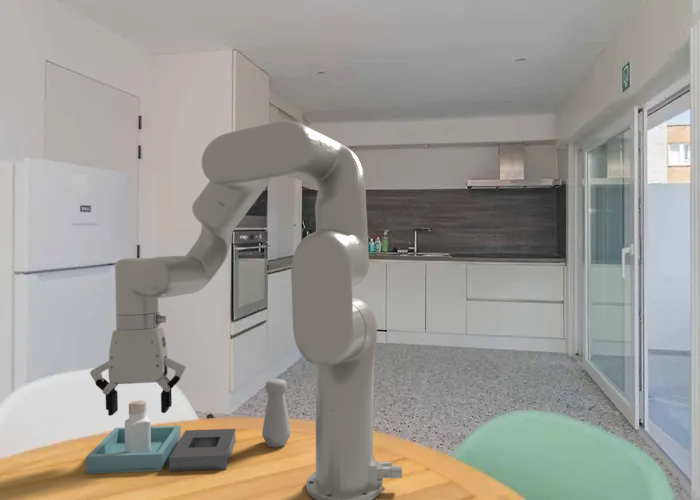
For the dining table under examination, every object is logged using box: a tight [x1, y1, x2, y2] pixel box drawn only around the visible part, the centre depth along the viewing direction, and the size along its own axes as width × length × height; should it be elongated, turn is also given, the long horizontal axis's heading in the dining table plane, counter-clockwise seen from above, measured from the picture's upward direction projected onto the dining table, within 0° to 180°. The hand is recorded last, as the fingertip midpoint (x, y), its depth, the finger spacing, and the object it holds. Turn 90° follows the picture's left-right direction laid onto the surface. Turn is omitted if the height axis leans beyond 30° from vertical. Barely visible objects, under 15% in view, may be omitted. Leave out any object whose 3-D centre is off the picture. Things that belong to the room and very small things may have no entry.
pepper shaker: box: [124, 399, 152, 453], centre depth 102 cm, size 4×4×10 cm
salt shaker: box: [261, 378, 291, 449], centre depth 107 cm, size 6×6×13 cm
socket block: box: [168, 428, 236, 473], centre depth 102 cm, size 10×14×2 cm
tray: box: [85, 425, 182, 475], centre depth 101 cm, size 13×15×3 cm
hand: (139, 412), depth 101 cm, fingers open, 9 cm apart
